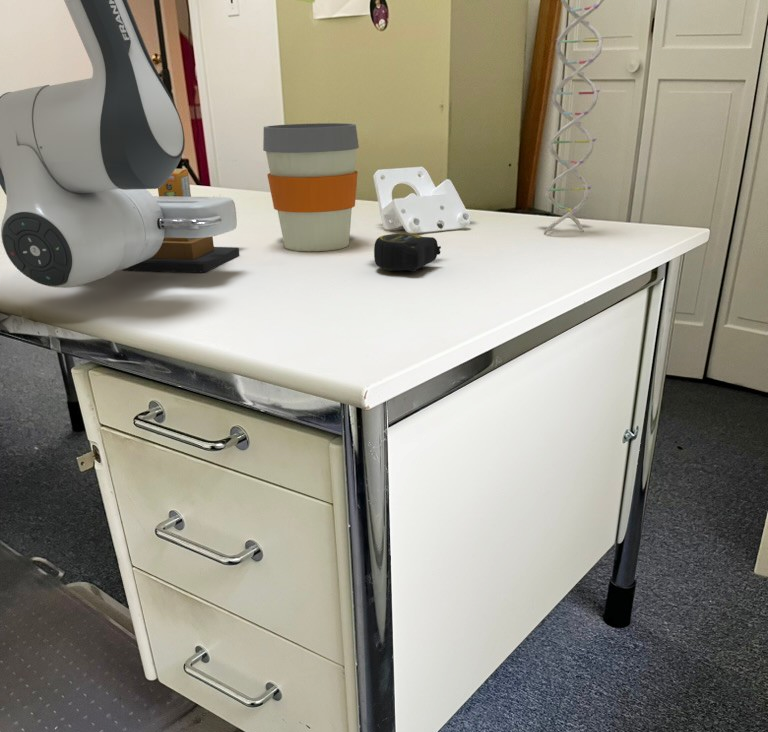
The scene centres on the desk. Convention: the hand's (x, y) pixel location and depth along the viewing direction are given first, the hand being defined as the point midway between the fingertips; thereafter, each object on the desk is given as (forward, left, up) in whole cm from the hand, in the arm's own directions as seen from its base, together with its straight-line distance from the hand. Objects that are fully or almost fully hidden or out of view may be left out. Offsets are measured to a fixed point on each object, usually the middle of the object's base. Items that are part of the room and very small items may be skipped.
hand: (178, 206), depth 101 cm
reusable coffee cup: (+10, +16, -7) cm, 20 cm away
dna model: (+39, +37, -7) cm, 54 cm away
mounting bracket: (+18, +34, -7) cm, 39 cm away
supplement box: (0, -1, -6) cm, 6 cm away
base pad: (0, -1, -7) cm, 7 cm away
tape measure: (+29, +6, -7) cm, 31 cm away
